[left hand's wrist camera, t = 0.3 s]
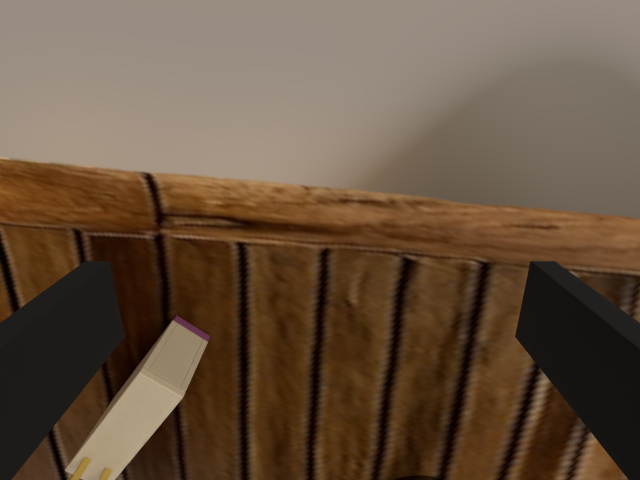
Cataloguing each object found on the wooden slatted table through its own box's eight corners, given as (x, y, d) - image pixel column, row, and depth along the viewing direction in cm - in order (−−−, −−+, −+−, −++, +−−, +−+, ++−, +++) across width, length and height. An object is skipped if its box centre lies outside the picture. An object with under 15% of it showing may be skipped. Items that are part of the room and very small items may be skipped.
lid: (109, 483, 41) (58, 579, 33) (69, 463, 40) (5, 557, 32) (185, 391, 37) (148, 475, 29) (142, 366, 36) (91, 446, 28)
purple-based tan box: (148, 413, 49) (114, 477, 41) (115, 394, 48) (73, 457, 40) (210, 336, 45) (186, 391, 37) (176, 315, 44) (143, 366, 36)
